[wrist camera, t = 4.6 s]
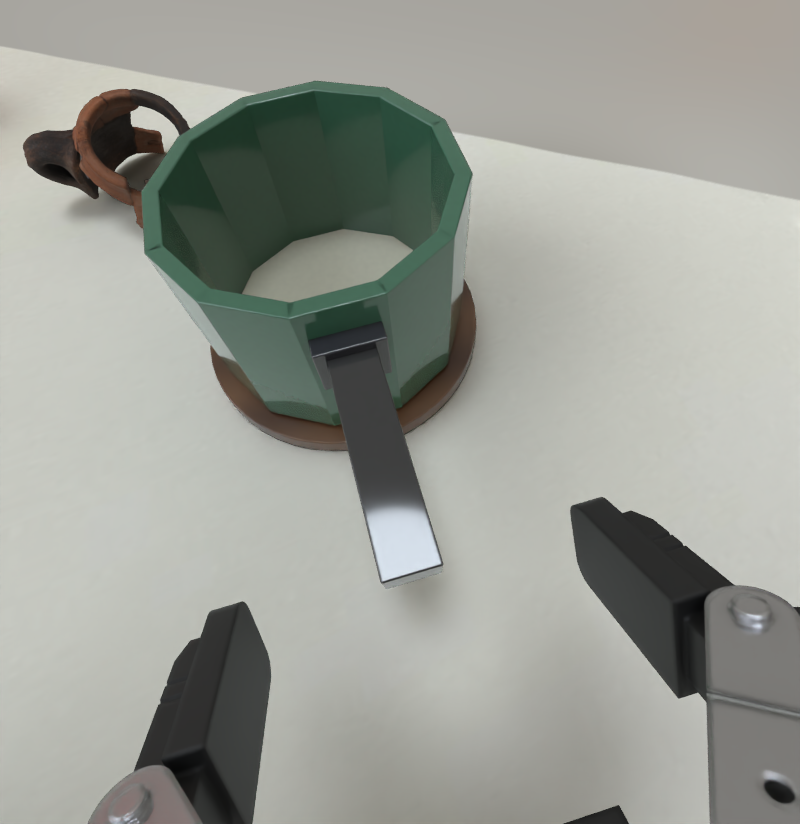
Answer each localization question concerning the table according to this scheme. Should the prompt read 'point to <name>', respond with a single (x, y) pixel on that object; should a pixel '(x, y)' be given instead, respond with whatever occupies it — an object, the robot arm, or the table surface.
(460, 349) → the disc
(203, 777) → the robot arm
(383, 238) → the pot
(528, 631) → the table surface
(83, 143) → the brown ring-shaped piece
